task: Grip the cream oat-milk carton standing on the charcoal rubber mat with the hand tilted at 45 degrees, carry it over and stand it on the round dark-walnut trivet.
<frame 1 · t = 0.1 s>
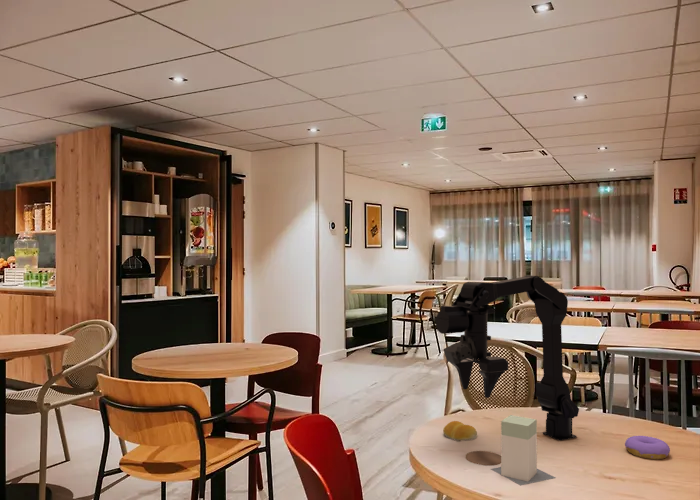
hand: (475, 393, 140), 15 cm above the table, fingers open, 9 cm apart
donut: (647, 455, 139), on the table
trivet: (484, 459, 134), on the table
bread roll: (459, 438, 152), on the table
carton: (519, 473, 125), resting on mat
mat: (522, 475, 125), on the table
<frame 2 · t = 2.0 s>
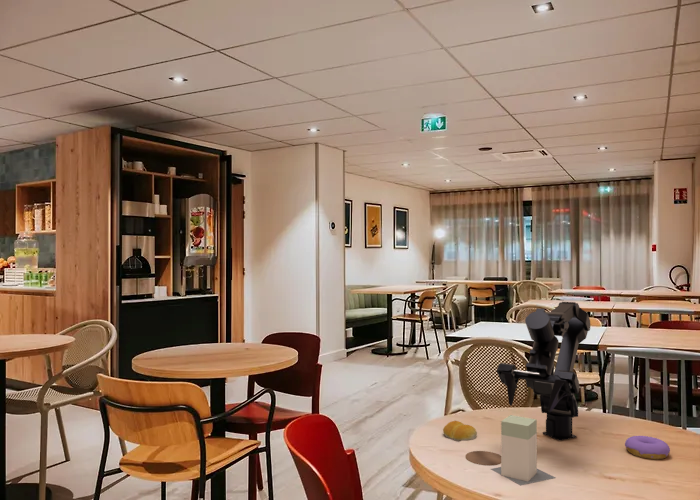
hand: (529, 407, 131), 13 cm above the table, fingers open, 9 cm apart
nothing on the table moved.
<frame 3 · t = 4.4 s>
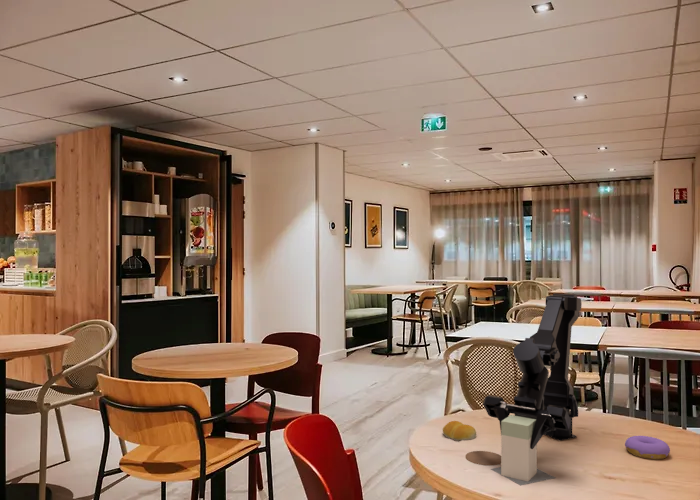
hand: (516, 445, 123), 7 cm above the table, fingers closed on carton, 6 cm apart
carton: (519, 473, 125), resting on mat, touching gripper
everything else where it was.
when the fingers open (9 cm above the table, at t = 7.6 s): carton drops 1 cm, resting on trivet.
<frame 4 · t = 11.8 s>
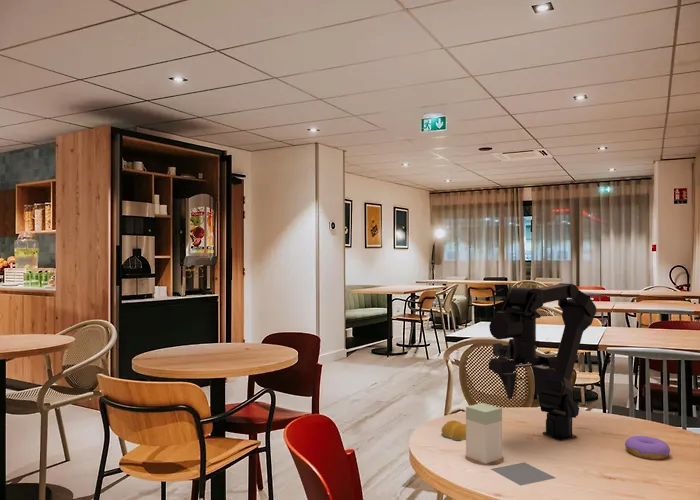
hand: (524, 396, 143), 13 cm above the table, fingers open, 9 cm apart
carton: (483, 457, 134), point 1 cm above the table, touching trivet
everything else where it was.
at the end: carton 0.2 cm from the trivet (horizontally); carton tilted 0°; carton point 0.6 cm above the table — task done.
